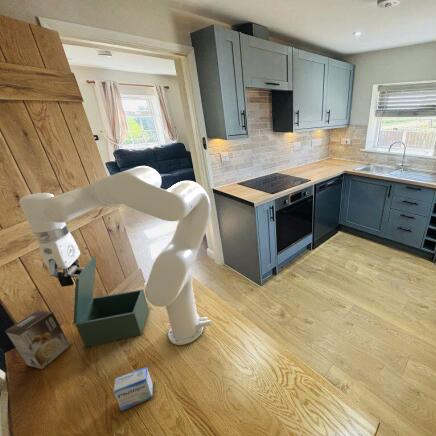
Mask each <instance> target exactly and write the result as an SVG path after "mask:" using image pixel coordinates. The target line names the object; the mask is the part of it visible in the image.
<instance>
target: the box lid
mask: <svg viewBox="0 0 436 436" xmlns="http://www.w3.org/2000/svg"><path fill="white" fill-rule="evenodd" d="M96 263H97V256H93V257H92V258H91V259H90V260H89V262H87V264H86V265H85V266H84V267H80V268H78V267H77V266H75V265H73V266H71V267H70V268H69V269H67V271H68V275H69V274H70V275H71V278H75V282H74V284H75V287H74V304H73V307H74V308H73V323H72V324H73V325H76V323H77V322H78V320H79V319H80V317H81V315H82V314H83V312H84V311H85V309H86V307H87V306H88V304H89V303H90V301H91V299H92V298H94V289H95V288H94V287H95V277H96V276H95V275H96ZM76 270H81V273H80V274H79V275H75V274H74V273H75V272H76Z"/></svg>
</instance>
